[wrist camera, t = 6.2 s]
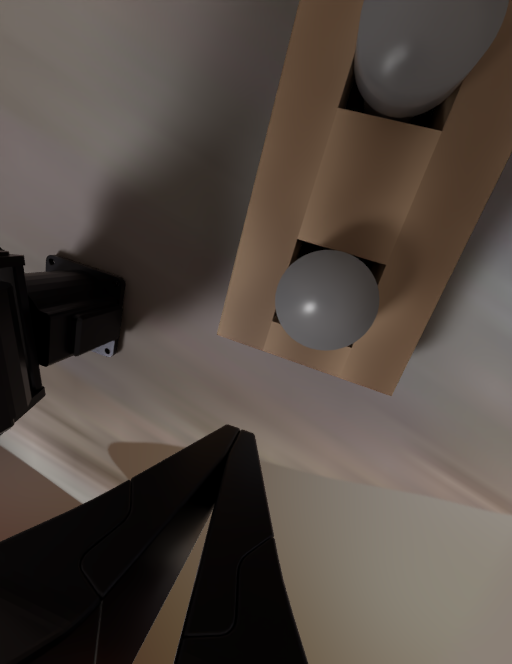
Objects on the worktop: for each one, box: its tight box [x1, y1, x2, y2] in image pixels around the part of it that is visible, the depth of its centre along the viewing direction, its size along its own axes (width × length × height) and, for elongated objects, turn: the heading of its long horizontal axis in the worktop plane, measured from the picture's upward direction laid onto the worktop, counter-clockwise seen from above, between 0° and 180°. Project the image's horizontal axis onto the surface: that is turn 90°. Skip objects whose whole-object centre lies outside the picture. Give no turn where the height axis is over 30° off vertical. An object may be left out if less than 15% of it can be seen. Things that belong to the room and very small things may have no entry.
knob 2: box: [354, 0, 509, 123], centre depth 12 cm, size 4×4×6 cm
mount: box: [217, 0, 512, 396], centre depth 15 cm, size 10×18×4 cm, turn 164°
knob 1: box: [275, 250, 379, 351], centre depth 15 cm, size 4×4×6 cm
